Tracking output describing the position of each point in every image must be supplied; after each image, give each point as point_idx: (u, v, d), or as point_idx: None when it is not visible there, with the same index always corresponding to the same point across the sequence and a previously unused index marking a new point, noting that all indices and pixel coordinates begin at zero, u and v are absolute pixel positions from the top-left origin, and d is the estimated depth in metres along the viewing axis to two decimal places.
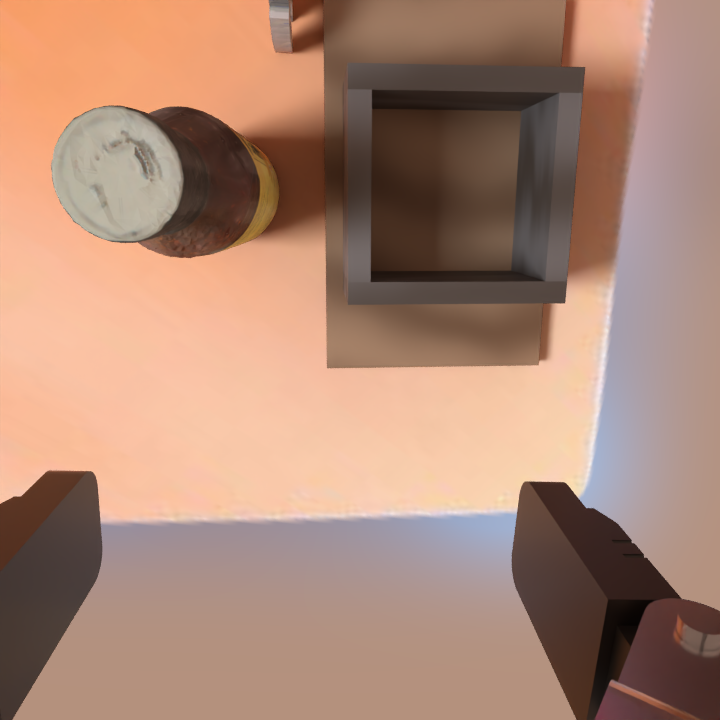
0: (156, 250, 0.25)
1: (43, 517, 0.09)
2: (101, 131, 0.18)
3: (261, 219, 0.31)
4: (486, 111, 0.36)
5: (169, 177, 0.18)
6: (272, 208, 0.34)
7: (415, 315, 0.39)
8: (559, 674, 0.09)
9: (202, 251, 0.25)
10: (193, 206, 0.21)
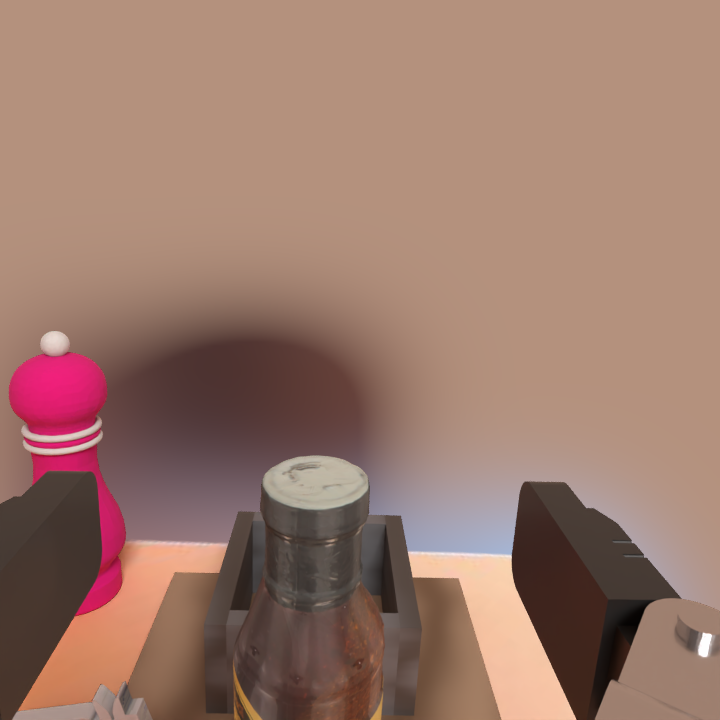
0: (378, 636, 0.24)
1: (43, 517, 0.09)
2: (281, 482, 0.22)
3: None
4: None
5: (318, 458, 0.24)
6: None
7: (430, 656, 0.40)
8: (559, 673, 0.09)
9: None
10: None
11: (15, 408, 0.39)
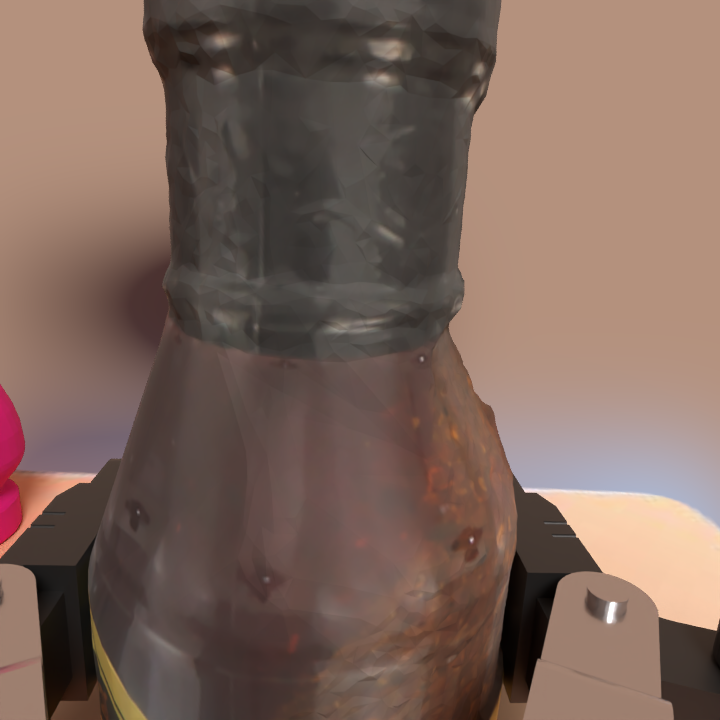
0: (508, 482, 0.08)
1: None
2: None
3: None
4: None
5: None
6: None
7: None
8: None
9: None
10: None
11: None
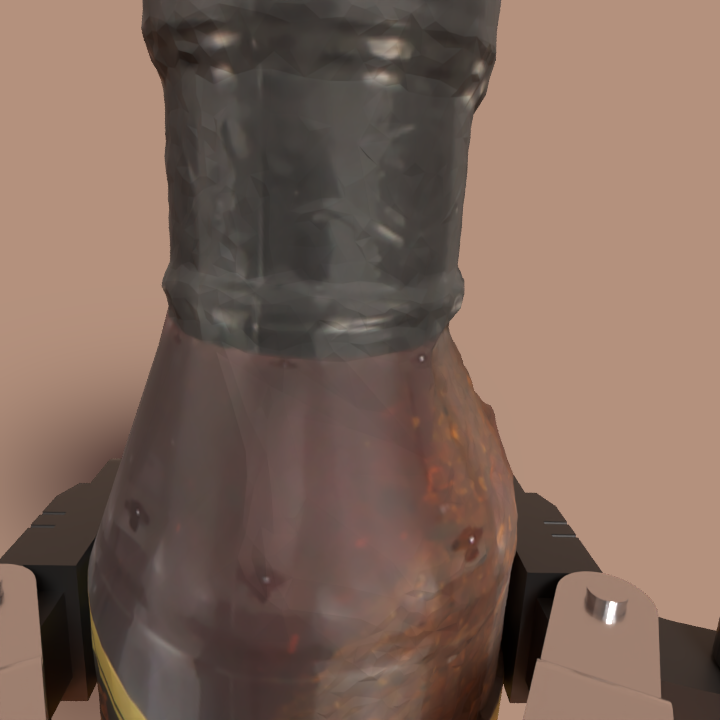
0: (508, 482, 0.08)
1: None
2: None
3: None
4: None
5: None
6: None
7: None
8: None
9: None
10: None
11: None
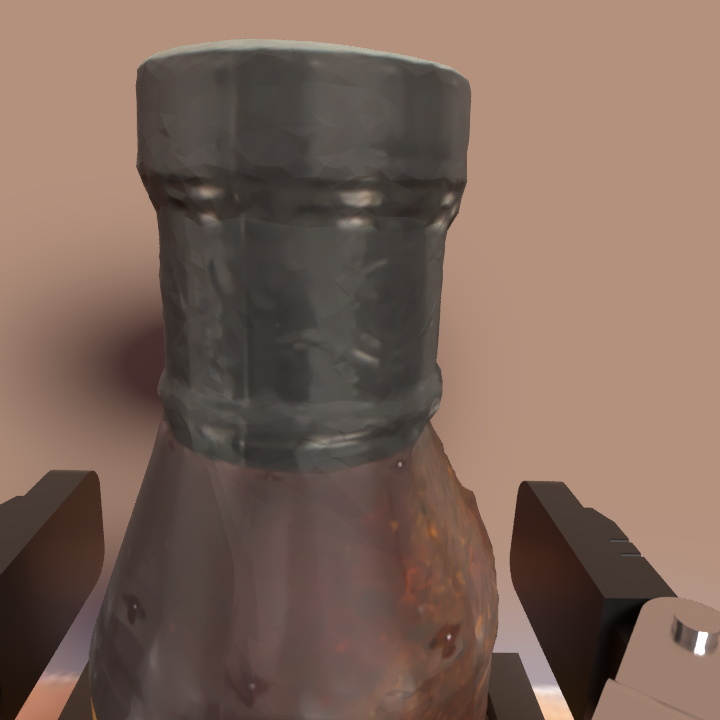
0: (488, 569, 0.09)
1: (46, 516, 0.09)
2: None
3: None
4: None
5: None
6: None
7: None
8: (556, 672, 0.09)
9: None
10: None
11: None
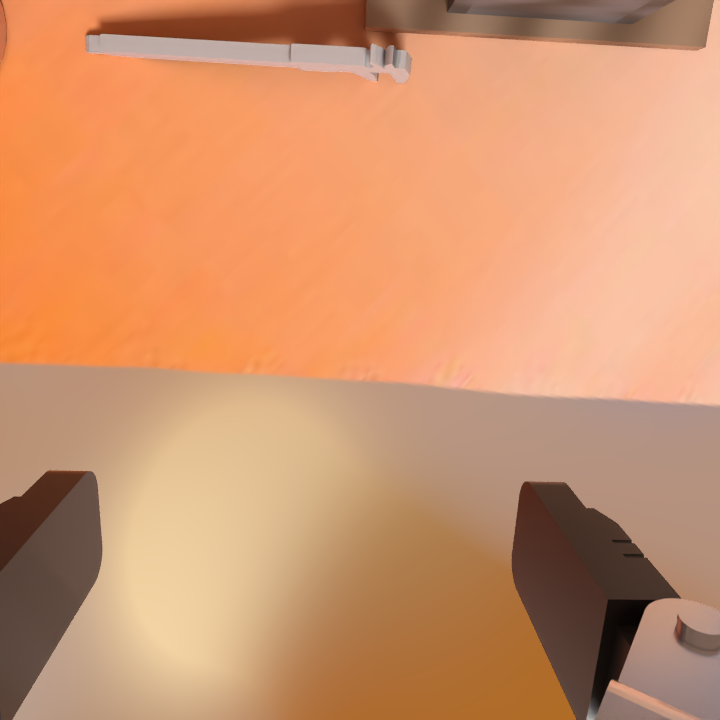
0: None
1: (43, 517, 0.09)
2: None
3: None
4: None
5: None
6: None
7: None
8: (559, 674, 0.09)
9: None
10: None
11: None
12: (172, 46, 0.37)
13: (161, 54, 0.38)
